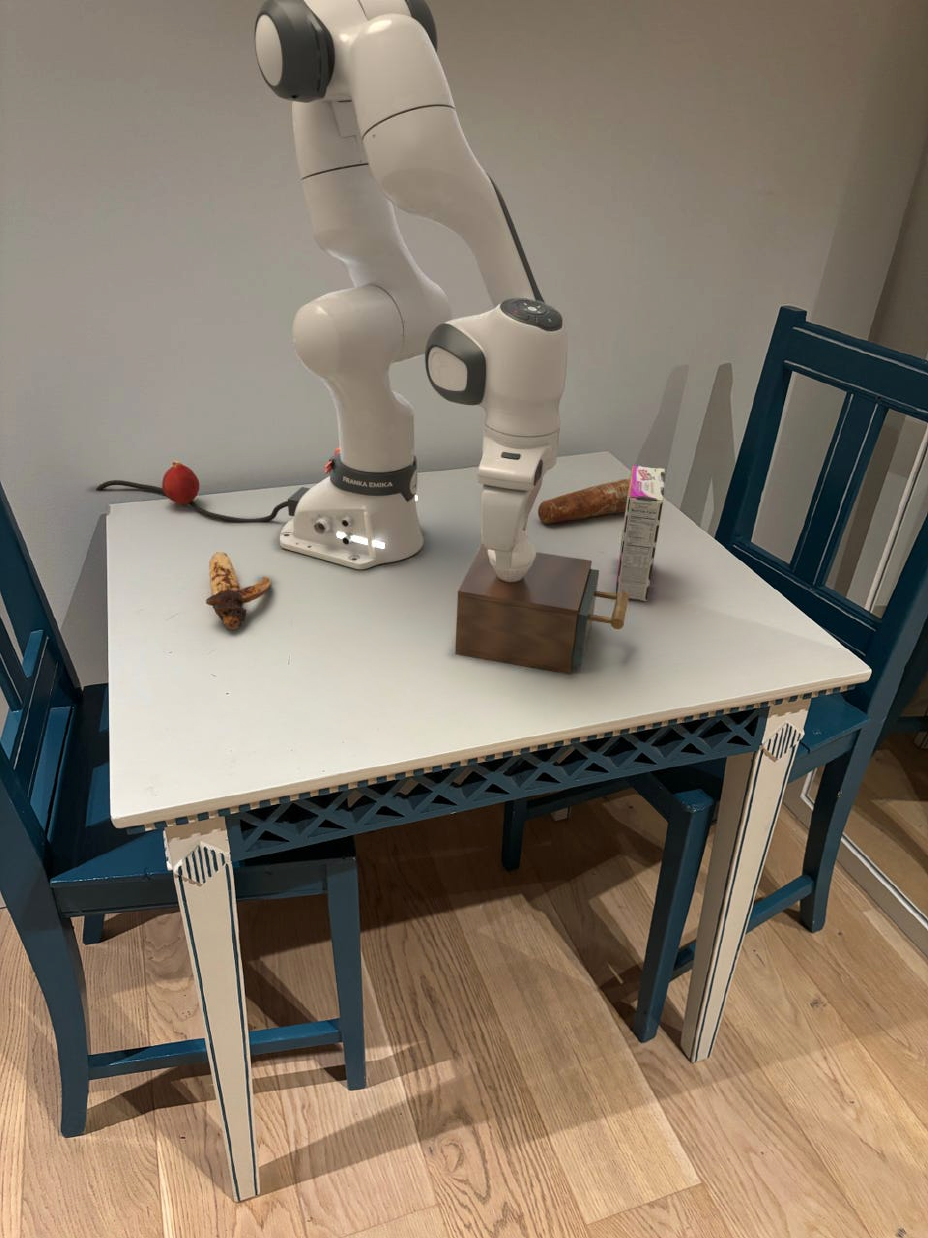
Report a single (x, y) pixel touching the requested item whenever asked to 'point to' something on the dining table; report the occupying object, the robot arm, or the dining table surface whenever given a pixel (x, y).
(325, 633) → the dining table surface
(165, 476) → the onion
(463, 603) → the cabinet
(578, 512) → the bread
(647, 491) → the candy bar box
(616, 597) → the drawer
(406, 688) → the dining table surface
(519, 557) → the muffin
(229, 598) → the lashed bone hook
